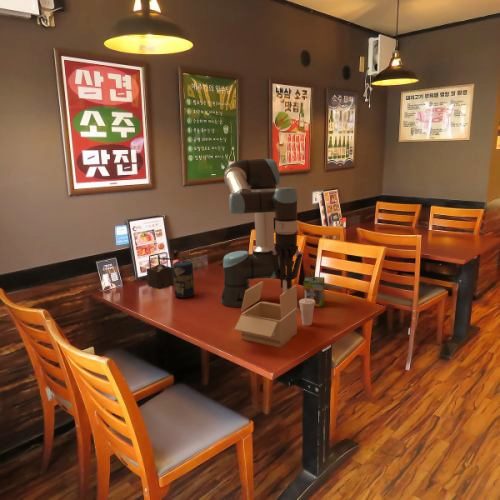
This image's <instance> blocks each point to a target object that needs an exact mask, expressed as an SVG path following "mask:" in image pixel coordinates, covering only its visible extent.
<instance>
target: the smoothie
mask: <svg viewBox="0 0 500 500" xmlns="http://www.w3.org/2000/svg"><path fill="white" fill-rule="evenodd" d="M298 305H299V307H300V308H299V310H300V311H301V312H300V313H301V314H300V315H301V322H302V325H303V326H312V325H313V324H312V323H313V317H314V309H315V307H314V305H315V300H313V299H308V298H306V290H305V299H304V298H301V299H299V300H298Z"/></svg>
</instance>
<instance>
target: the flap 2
mask: <svg viewBox="0 0 500 500" xmlns="http://www.w3.org/2000/svg"><path fill="white" fill-rule="evenodd" d="M276 325H277V322H274V321H269V320H264V319H259V318H253V317H248V316H243V315H241V314H240V316H239V319H238V320H237V323H236V325H235V327H234V331H240V332H242V331H243V332H248V333H253V334H257V335H262V336H267V337H272V335H273V332H274V330H275V328H276Z"/></svg>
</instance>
